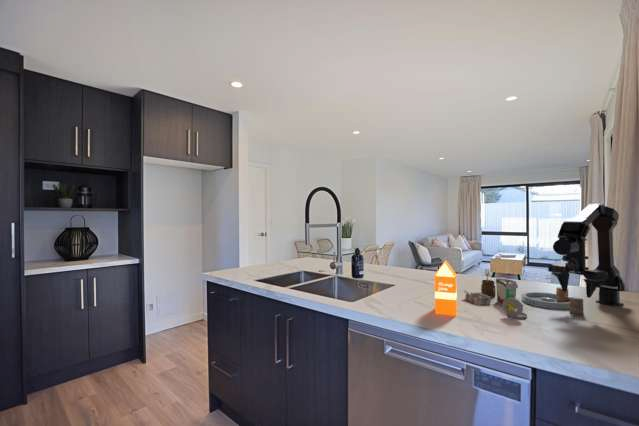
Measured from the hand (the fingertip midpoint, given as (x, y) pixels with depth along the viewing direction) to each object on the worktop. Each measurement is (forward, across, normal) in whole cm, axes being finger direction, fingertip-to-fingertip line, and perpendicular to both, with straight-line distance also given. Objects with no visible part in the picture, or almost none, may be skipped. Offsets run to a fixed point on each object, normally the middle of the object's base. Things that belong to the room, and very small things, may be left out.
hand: (576, 294), depth 118 cm
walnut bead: (+8, 0, 0) cm, 8 cm away
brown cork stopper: (+7, -12, +7) cm, 16 cm away
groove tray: (+8, -15, +3) cm, 17 cm away
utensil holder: (+8, -31, -13) cm, 34 cm away
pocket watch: (+8, -2, -25) cm, 26 cm away
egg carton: (+8, -23, -24) cm, 35 cm away
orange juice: (+8, -13, -46) cm, 48 cm away
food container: (+8, -16, -15) cm, 23 cm away
